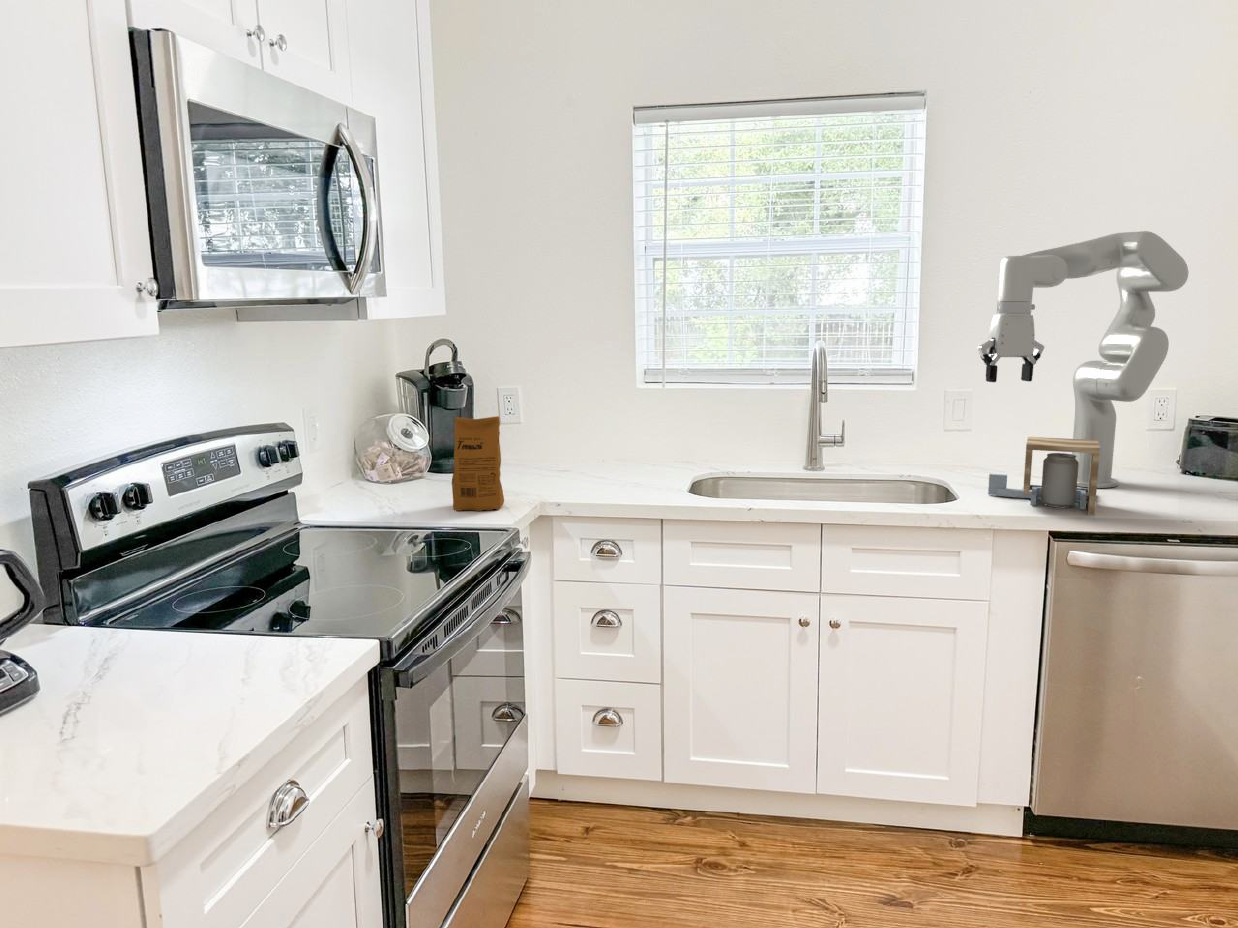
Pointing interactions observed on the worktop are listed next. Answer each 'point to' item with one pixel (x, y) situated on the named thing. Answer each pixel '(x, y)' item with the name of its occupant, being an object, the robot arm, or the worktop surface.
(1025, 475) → the tunnel
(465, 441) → the coffee package
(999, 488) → the blue-grey forked pusher
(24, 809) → the worktop surface
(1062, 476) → the can
